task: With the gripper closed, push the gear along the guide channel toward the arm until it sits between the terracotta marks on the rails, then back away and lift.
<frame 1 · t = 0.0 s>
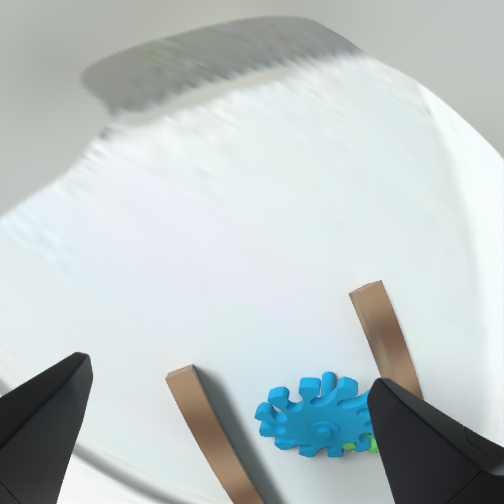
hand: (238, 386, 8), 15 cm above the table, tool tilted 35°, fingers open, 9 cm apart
gear: (311, 413, 23), on the table
guide channel: (328, 449, 22), on the table
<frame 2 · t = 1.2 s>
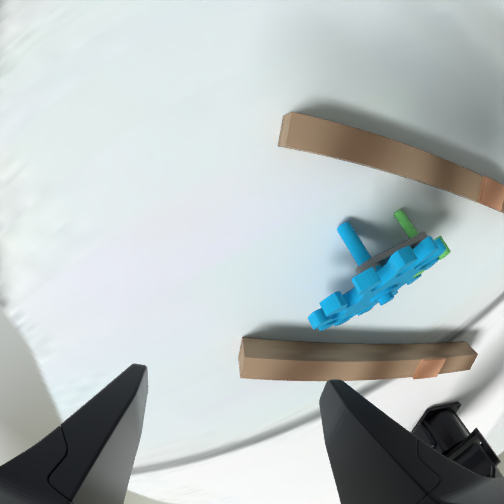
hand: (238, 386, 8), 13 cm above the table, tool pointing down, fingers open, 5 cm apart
gear: (362, 261, 22), on the table
guide channel: (406, 270, 23), on the table
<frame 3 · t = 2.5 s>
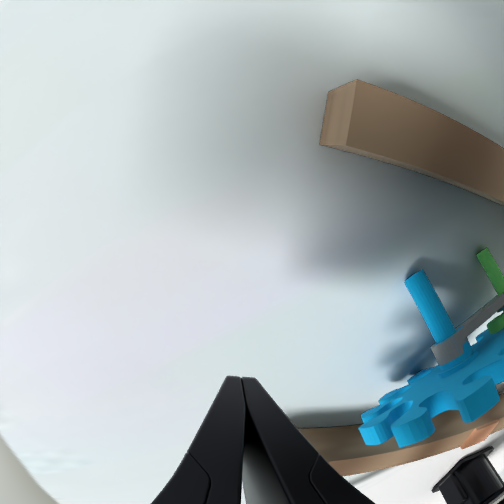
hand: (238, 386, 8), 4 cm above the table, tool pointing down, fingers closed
gear: (427, 320, 14), on the table
guide channel: (475, 327, 14), on the table
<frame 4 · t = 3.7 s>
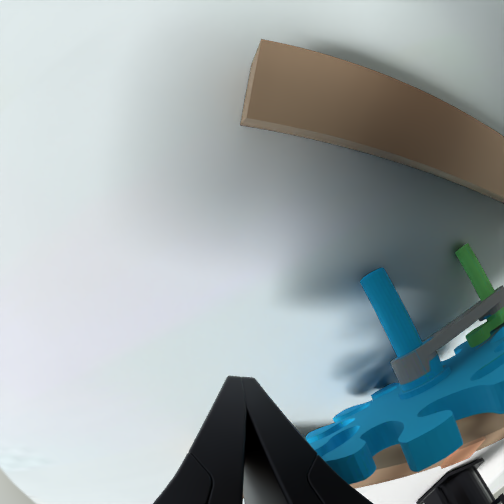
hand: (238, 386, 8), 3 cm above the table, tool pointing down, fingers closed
gear: (394, 328, 12), on the table, touching gripper
guide channel: (455, 337, 13), on the table
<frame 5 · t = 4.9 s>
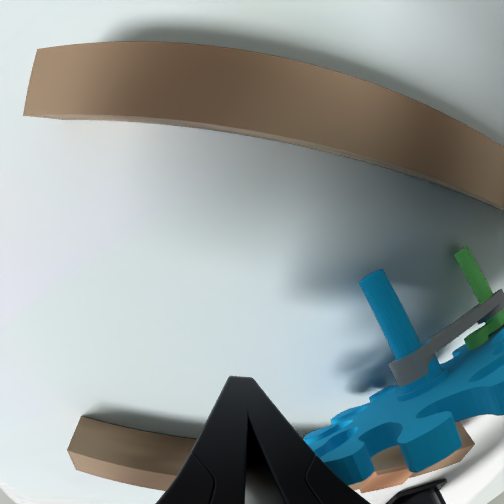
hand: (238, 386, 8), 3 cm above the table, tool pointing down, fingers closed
gear: (393, 330, 12), on the table, touching gripper
guide channel: (350, 341, 12), on the table
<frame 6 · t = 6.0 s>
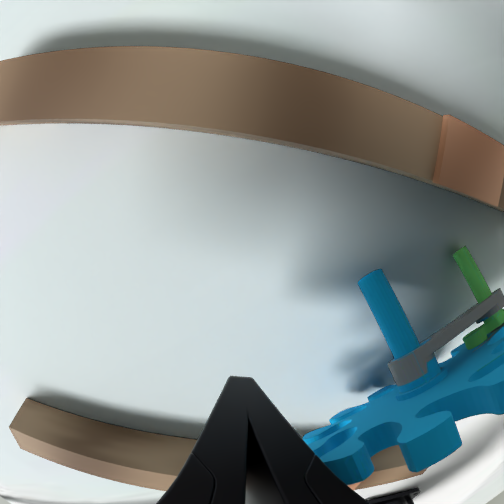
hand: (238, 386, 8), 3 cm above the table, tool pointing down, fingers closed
gear: (391, 330, 12), on the table, touching gripper
guide channel: (261, 336, 12), on the table
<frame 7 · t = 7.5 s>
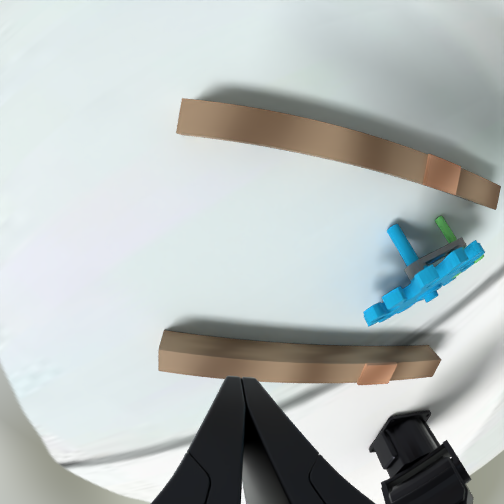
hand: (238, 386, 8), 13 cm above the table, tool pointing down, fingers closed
gear: (404, 262, 23), on the table
guide channel: (340, 263, 22), on the table
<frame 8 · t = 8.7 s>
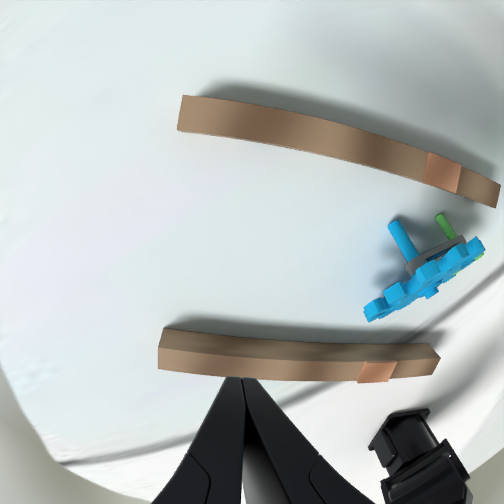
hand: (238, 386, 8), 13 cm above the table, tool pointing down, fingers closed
gear: (404, 258, 23), on the table
guide channel: (340, 261, 22), on the table
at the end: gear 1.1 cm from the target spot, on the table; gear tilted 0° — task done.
